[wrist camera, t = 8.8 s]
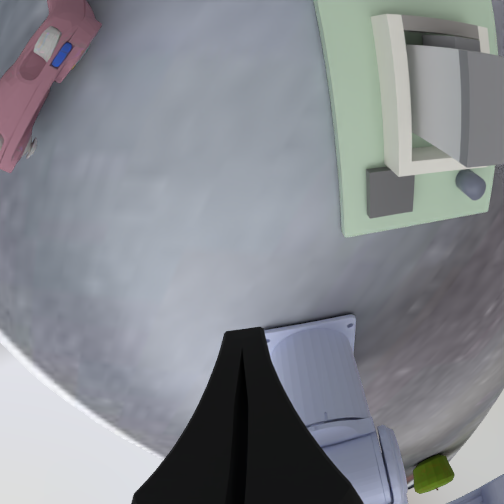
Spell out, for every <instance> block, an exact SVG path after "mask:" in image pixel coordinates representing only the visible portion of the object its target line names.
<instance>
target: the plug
mask: <svg viewBox="0 0 504 504" xmlns="http://www.w3.org/2000/svg"><path fill="white" fill-rule="evenodd" d="M422 40H423V45H408V44H406V52H407V61H408V71H409V83H410V98H411V121H412V132H413V133H414V134H416V135H418V136H419V137H421V138H423V139H424V140H426V141H427V142H429V143H431V144H432V145H434V146H435V147H437V148H438V149H440V150H442V151H443V152H445V153H446V154H448V155H449V156H451V157H452V158H454V159H455V160H456V161H458V162H459V163H461V164H462V165H464V166H465V167H466V168H469V167H480V166H491V165H502V164H504V57H503V56H498V55H493V54H488V53H483V52H481V50H480V40H474V39H468V38H462V37H455V36H438V35H422Z"/></svg>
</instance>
